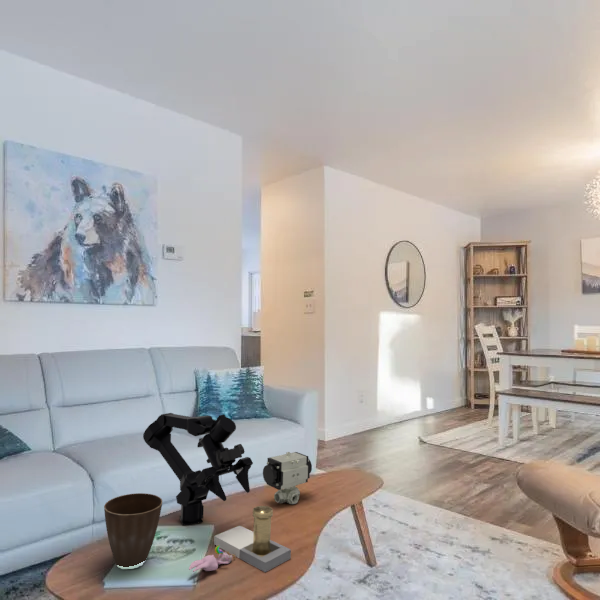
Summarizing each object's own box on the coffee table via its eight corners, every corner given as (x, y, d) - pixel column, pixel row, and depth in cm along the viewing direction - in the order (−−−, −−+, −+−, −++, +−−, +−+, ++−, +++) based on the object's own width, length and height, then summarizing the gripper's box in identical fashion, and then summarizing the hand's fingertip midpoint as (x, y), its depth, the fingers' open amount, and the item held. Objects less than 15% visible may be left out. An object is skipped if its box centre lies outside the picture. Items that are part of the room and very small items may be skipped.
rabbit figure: (222, 560, 134) (181, 573, 122) (225, 537, 135) (185, 548, 123) (238, 567, 130) (198, 582, 118) (242, 544, 131) (202, 556, 119)
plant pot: (121, 546, 136) (123, 490, 137) (169, 552, 134) (171, 495, 134) (89, 574, 122) (92, 511, 122) (143, 581, 119) (145, 517, 120)
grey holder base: (213, 544, 139) (214, 535, 139) (239, 533, 147) (239, 525, 147) (265, 572, 125) (265, 562, 125) (290, 558, 133) (290, 549, 133)
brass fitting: (251, 561, 130) (252, 514, 131) (251, 551, 136) (252, 505, 136) (271, 561, 131) (272, 513, 131) (271, 551, 136) (272, 505, 137)
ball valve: (275, 511, 164) (277, 459, 165) (261, 503, 171) (262, 454, 171) (313, 499, 176) (315, 451, 176) (299, 492, 182) (300, 446, 183)
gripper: (203, 441, 139) (226, 489, 131) (250, 431, 153) (273, 474, 145) (186, 462, 144) (207, 510, 136) (233, 451, 158) (254, 493, 150)
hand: (237, 496), depth 142 cm, fingers open, 9 cm apart
